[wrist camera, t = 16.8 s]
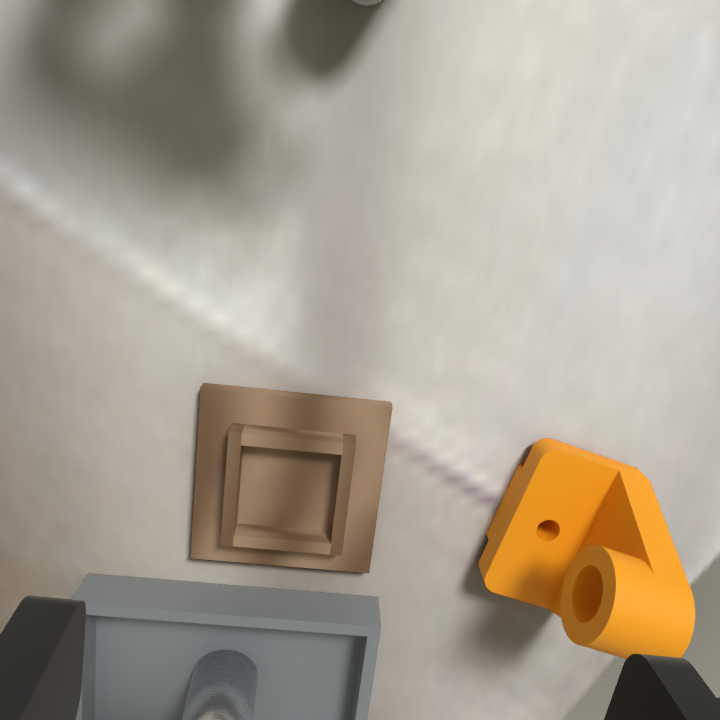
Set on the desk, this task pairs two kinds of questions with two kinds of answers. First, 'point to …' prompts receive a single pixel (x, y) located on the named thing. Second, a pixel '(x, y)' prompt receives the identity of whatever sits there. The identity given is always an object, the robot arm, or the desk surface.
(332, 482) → the stop seat
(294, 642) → the tray
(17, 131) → the desk surface
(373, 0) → the phone holder
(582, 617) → the bracket
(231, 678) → the pin
